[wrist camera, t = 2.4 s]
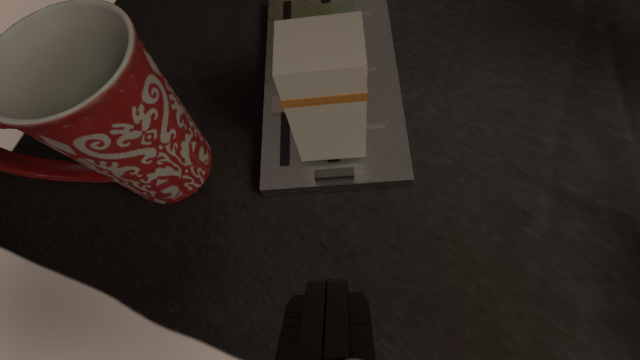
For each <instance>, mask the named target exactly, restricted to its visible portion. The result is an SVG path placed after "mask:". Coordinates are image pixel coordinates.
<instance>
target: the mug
mask: <svg viewBox="0 0 640 360" xmlns="http://www.w3.org/2000/svg"><path fill="white" fill-rule="evenodd" d="M7 128H10V129H18V130H20V131H22V132H24V133H26V134H27V135H29V136H31V137H33V138H35V139H37V140H38V141H40V142H42V143H44V144H46V145H48V146H49V147H51V148H53V149H55V150H57V151H59V152H61V153H62V154H64V155H66V156H68V157H70V158H72V159H73V160H75V161H77V162H74V161H63V160H54V159H46V158H39V157H33V156H28V155H23V154H19V153H15V152H12V151H8V150H6V149H3V148H0V170H1V171H5V172H8V173H12V174H16V175H21V176H25V177H31V178H39V179H48V180H58V181H73V182H116V183H118V184H120V185H121V186H123V187H125V188H127V189H129V190H131V191H132V192H134V193H136V194H138V195H139V196H141V197H143V198H145V199H147V200H149V201H151V202H154V203H161V204H166V203H174V202H178V201H181V200H183V199H185V198H187V197H189V196H190V195H192V194H193V193H194V192H196V191H197V190H198V189H199V188H200V187H201V186H202V185H203V183H204V182H205V181H206V179H207V177H208V175H209V173H210V170H211V166H212V152H211V149H210V146H209V144H208V143H207V141H206V139H205V138H204V136H203V135H202V133H201V131H200V130H199V129H198V127H197V126H196V124H195V123H194V121H193V120H192V118H191V116H190V115H189V113H188V112H187V110H186V109H185V107H184V106H183V104H182V103H181V101H180V100H179V98H178V97H177V95H176V94H175V92H174V91H173V89H172V88H171V86H170V84H169V82H168V81H167V80H166V78H165V77H164V75H163V74H162V72H161V71H160V69H159V68H158V66H157V65H156V63H155V62H154V60H153V59H152V57H151V56H150V54H149V53H148V51H147V50H146V48H145V46H144V45H143V43H142V42H141V40H140V39H139V37H138V36H137V34H136V30H135V27H134V25H133V22H132V21H131V19H130V17H129V16H128V15H127V14H126V13H125V12H124V11H123V10H122V9H121V8H119V7H118V6H116V5H114V4H112V3H110V2H107V1H103V0H69V1H63V2H59V3H56V4H52V5H50V6H47V7H45V8H43V9H40V10H38V11H36V12H34V13H32V14H30V15H28V16H26V17H24V18H23V19H21V20H20V21H18V22H16V23H15V24H14V25H12V26H11V27H10V28H8V29H7V30H6V31H5V32H4V33H2V34H1V35H0V129H7Z"/></svg>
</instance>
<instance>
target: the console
mask: <svg viewBox="0 0 640 360" xmlns="http://www.w3.org/2000/svg"><path fill="white" fill-rule="evenodd" d="M356 11H362V20H363V29H364V38H365V47H366V56H367V66H368V68H367V89H368V101H367V116H366V157H356V158H343V159H330V160H317V161H304V162H302V160H301V157H300V154H299V151H298V148H297V145H296V142H295V139H294V137H293V134H292V131H291V128H290V125H289V122H288V119H287V116H286V114H285V111H284V108H282V105H281V102H280V96H279V93H278V91H277V88H276V85H275V82H274V79H273V76H272V69H273V43H274V21H278V20H286V19H295V18H304V17H313V16H321V15H330V14H339V13H348V12H356ZM413 181H414V176H413V169H412V163H411V156H410V150H409V143H408V137H407V130H406V124H405V117H404V111H403V104H402V98H401V91H400V85H399V78H398V72H397V65H396V59H395V52H394V46H393V39H392V33H391V26H390V20H389V13H388V7H387V1H386V0H269V6H268V26H267V47H266V68H265V88H264V109H263V130H262V150H261V171H260V192H261V193H262V194H263V196H264V197H274V196H289V195H304V194H319V193H334V192H348V191H363V190H378V189H393V188H407V187H412V184H413Z"/></svg>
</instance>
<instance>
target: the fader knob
mask: <svg viewBox="0 0 640 360" xmlns="http://www.w3.org/2000/svg"><path fill="white" fill-rule="evenodd" d="M367 68H368V66H367V56H366V47H365V38H364V29H363V20H362V11H356V12H348V13H339V14H330V15H321V16H313V17H304V18H295V19H286V20H278V21H274V43H273V69H272V76H273V79H274V82H275V85H276V88H277V91H278V93H279V96H280V102H281V105H282V108H284V111H285V114H286V116H287V119H288V122H289V125H290V128H291V131H292V134H293V137H294V139H295V142H296V145H297V148H298V151H299V154H300V157H301V160H302V162H304V161H317V160H330V159H343V158H356V157H366V116H367V101H368V89H367Z"/></svg>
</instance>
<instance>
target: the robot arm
mask: <svg viewBox="0 0 640 360" xmlns="http://www.w3.org/2000/svg"><path fill="white" fill-rule="evenodd" d="M275 360H375V351H374V342H373V334H372V325H371V316H370V307H369V301H368V300H367V298H366V297H365V296H364V294H363V293H362V292H351V293H348V283H347V279H328V284H327V280H310V281H307V285H306V292H305V295H294V296H293V297H292V299H291V300H290V301H289V303H288V304H287V305H286V310H285V314H284V319H283V324H282V329H281V334H280V338H279V343H278V348H277V353H276V358H275Z"/></svg>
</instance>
